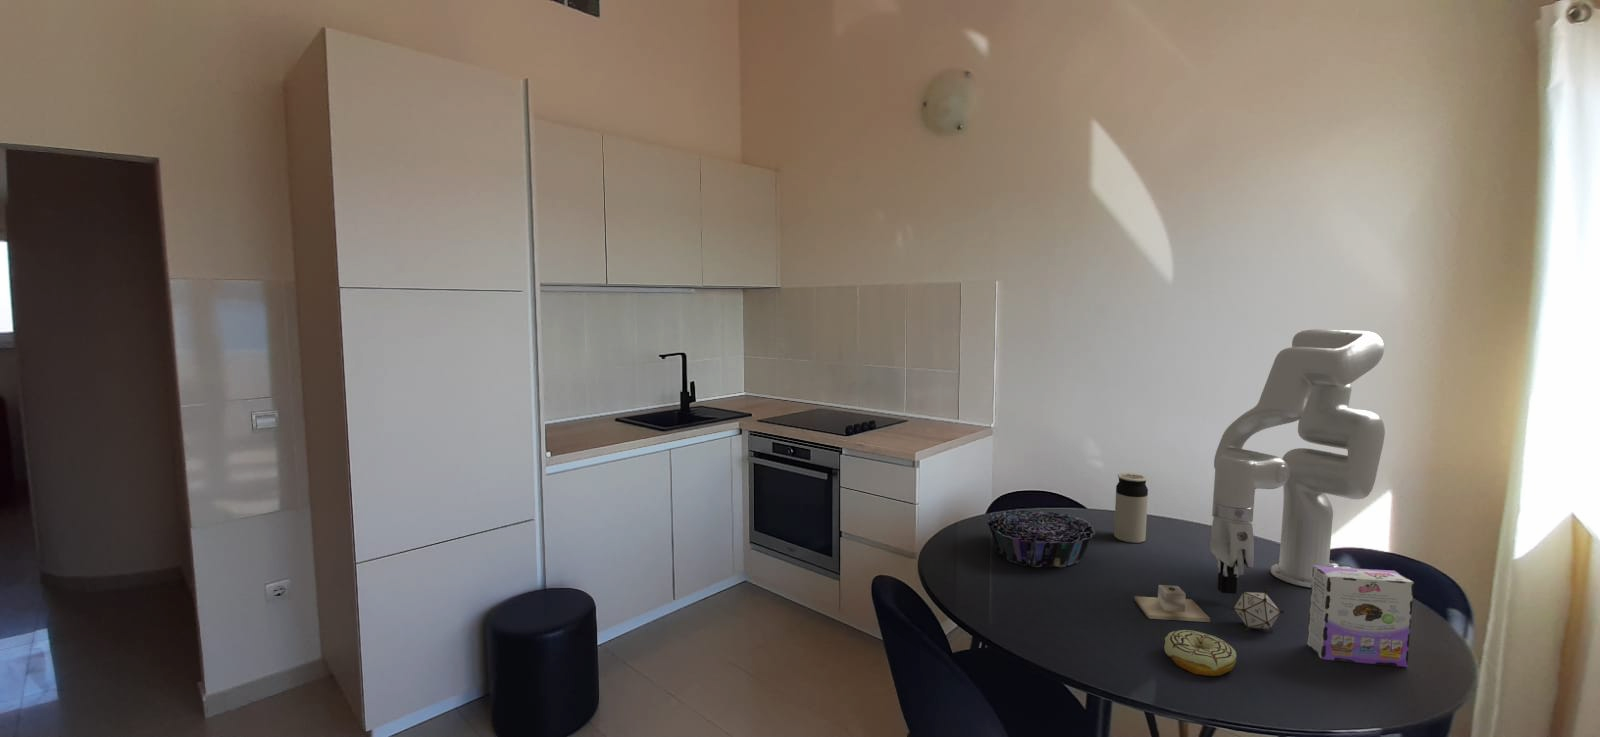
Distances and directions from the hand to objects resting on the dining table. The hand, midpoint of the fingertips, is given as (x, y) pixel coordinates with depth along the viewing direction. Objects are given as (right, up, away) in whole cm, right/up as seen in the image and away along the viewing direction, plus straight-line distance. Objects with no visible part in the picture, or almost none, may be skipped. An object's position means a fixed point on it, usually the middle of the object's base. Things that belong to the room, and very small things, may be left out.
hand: (1226, 591), depth 148 cm
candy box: (+10, -5, -22) cm, 25 cm away
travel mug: (-2, +1, +40) cm, 40 cm away
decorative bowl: (-31, 0, +30) cm, 43 cm away
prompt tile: (-14, -3, -3) cm, 15 cm away
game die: (-1, -4, -11) cm, 12 cm away
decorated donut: (-20, -5, -24) cm, 32 cm away
